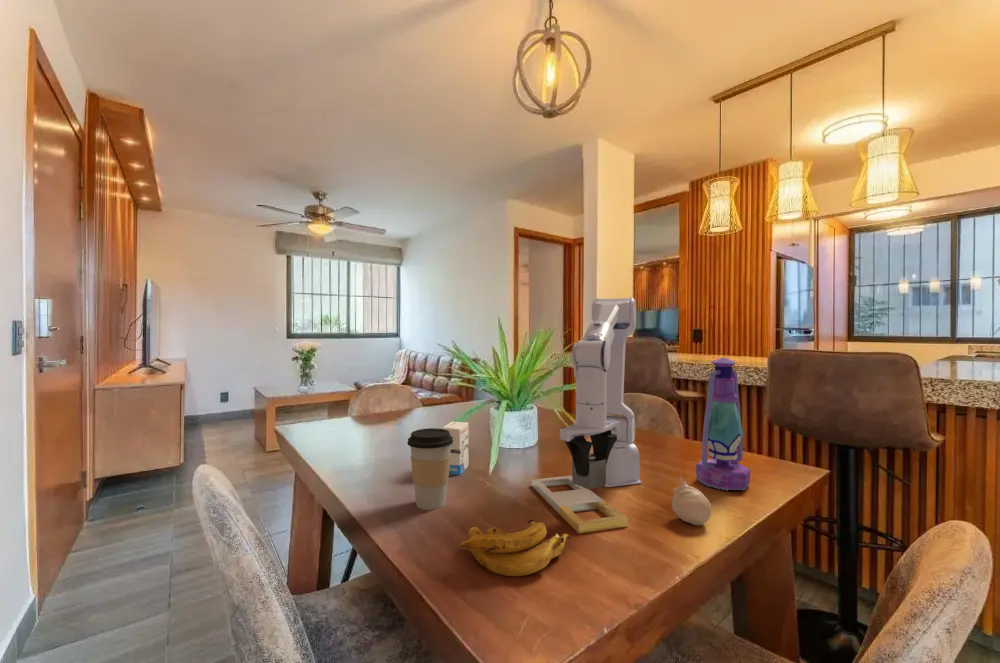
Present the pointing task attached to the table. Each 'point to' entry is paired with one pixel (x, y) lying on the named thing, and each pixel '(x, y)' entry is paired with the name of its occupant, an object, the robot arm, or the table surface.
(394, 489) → the table surface
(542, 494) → the plate with square hole
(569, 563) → the table surface
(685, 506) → the garlic bulb
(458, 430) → the ink box
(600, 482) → the grey knobbed block
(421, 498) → the coffee cup
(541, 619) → the table surface
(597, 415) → the robot arm
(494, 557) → the banana
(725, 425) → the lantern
